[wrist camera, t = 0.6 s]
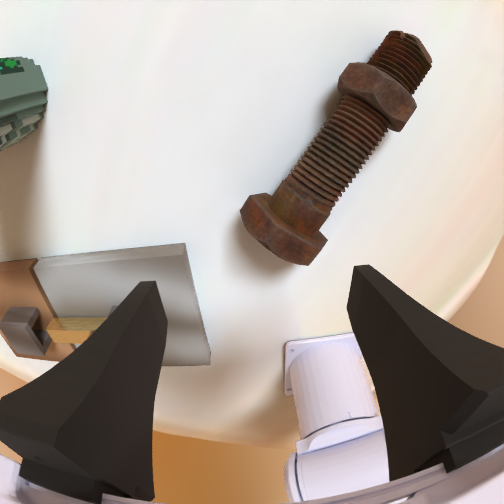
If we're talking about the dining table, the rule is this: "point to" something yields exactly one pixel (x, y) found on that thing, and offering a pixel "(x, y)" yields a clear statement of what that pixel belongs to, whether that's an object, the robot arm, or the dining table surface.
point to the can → (20, 99)
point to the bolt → (339, 149)
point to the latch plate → (99, 298)
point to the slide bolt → (73, 328)
